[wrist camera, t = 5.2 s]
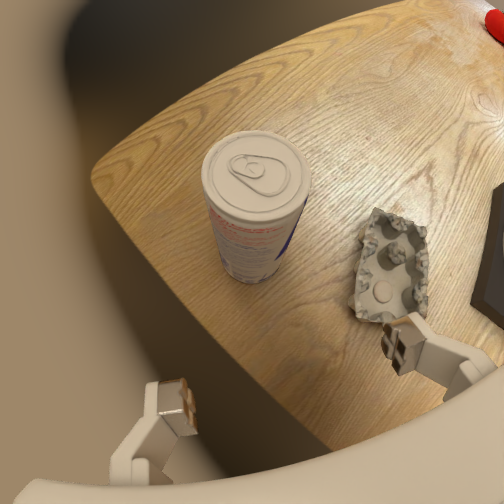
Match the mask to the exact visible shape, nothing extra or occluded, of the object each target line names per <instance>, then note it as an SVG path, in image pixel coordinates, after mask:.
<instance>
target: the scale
mask: <svg viewBox="0 0 504 504" xmlns="http://www.w3.org/2000/svg"><path fill="white" fill-rule="evenodd" d="M470 304H471V305H472V306H474V307H475V308H476V309H478V310H479V311H480V312H482V313H483V314H484V315H486V316H487V317H488V318H489V319H491V320H492V321H493V322H495V323H496V324H497V325H499V326H500V327H501V328H502V329H504V182H503V183H502V184H500V185H499V186H498V187H496V188H495V189H494V190H493V198H492V206H491V213H490V220H489V226H488V232H487V237H486V242H485V247H484V252H483V257H482V261H481V265H480V270H479V274H478V278H477V281H476V285H475V289H474V292H473V296H472V299H471V303H470Z"/></svg>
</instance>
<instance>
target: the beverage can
mask: <svg viewBox="0 0 504 504" xmlns="http://www.w3.org/2000/svg"><path fill="white" fill-rule="evenodd" d="M201 177H202V183H203V192H204V196H205V200H206V204H207V208H208V212H209V215H210V219H211V223H212V227H213V230H214V234H215V238H216V241H217V245H218V249H219V252H220V256H221V259H222V263H223V265H224V268H225V269H226V271H227V272H228V273H229V274H230V275H231V276H232V277H233V278H235V279H236V280H238V281H241V282H244V283H250V284H252V283H260V282H263V281H265V280H267V279H269V278H270V277H271V276H273V275H274V274H275V273H276V271H277V270H278V268H279V266H280V264H281V261H282V259H283V256H284V254H285V252H286V249H287V247H288V245H289V242H290V240H291V238H292V235H293V233H294V230H295V228H296V226H297V223H298V221H299V218H300V216H301V214H302V211H303V209H304V206H305V204H306V202H307V199H308V195H309V191H310V188H311V183H312V172H311V169H310V165H309V163H308V160H307V158H306V157H305V155H304V154H303V153H302V151H301V150H300V149H299V148H298V147H297V146H296V145H295V144H293V143H292V142H291V141H289V140H288V139H286V138H284V137H282V136H280V135H277V134H274V133H271V132H267V131H261V130H248V131H241V132H237V133H234V134H231V135H228V136H226V137H225V138H223V139H222V140H220V141H219V142H217V143H216V144H215V145H214V146H213V147H212V148H211V149H210V150H209V152H208V153H207V155H206V157H205V159H204V162H203V165H202V172H201Z"/></svg>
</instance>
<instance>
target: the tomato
mask: <svg viewBox="0 0 504 504" xmlns="http://www.w3.org/2000/svg"><path fill="white" fill-rule="evenodd" d="M485 25H486V28H487V30H488V31H489V33H490V34H491V35H493V36H494V37H495V38H496V39H497V40H498V41H500V42H501V43H503V44H504V13H502V12H501V11H499V10H498V9H493V10H490V11H489V12H488V13H487V14H486V17H485Z"/></svg>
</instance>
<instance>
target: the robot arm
mask: <svg viewBox="0 0 504 504" xmlns="http://www.w3.org/2000/svg"><path fill="white" fill-rule="evenodd" d="M383 331H384V332H385V334H384V335H383V337H382V340H381V346H382V350H383V353H384V354H385V356H386V358H388V359H390V360H392V367H393V368H394V370H395V371H396V373H397V374H398V376H401V375H403V374H406V373H408V372H411V371H413V370H415V369H416V371H417V372H419V373H421V374H423V375H424V376H426V377H428V378H430V379H432V380H433V381H435V382H437V383H439V384H440V385H442V386H444V387H446V388H448V389H447V391H446V393H445V395H444V397H443V401H444V403H442V404H441V405H439V406H437V407H435V408H433V409H432V410H430V411H428V412H426V413H424V414H422V415H420V416H418V417H416V418H414V419H412V420H410V421H408V422H406V423H404V424H402V425H400V426H397V427H395V428H393V429H391V430H389V431H386V432H384V433H382V434H379V435H377V436H375V437H372V438H370V439H367V440H365V441H362V442H360V443H357V444H354V445H352V446H349V447H346V448H343V449H341V450H338V451H335V452H332V453H329V454H326V455H323V456H320V457H316V458H313V459H310V460H306V461H303V462H299V463H296V464H292V465H288V466H285V467H280V468H276V469H272V470H267V471H263V472H258V473H253V474H248V475H243V476H237V477H232V478H225V479H219V480H211V481H203V482H195V483H184V484H173V481H172V480H171V479H170V478H169V477H167V476H166V475H165V474H164V473H163V472H162V469H163V467H164V466H165V464H166V462H167V460H168V458H169V456H170V454H171V452H172V450H173V448H174V446H175V444H176V442H177V440H178V437H183V436H189V435H195V434H198V423H197V419H196V417H195V416H194V414H195V413H196V403H195V399H194V396H193V393H192V391H191V389H188V388H187V382H186V380H185V378H180V379H172V380H166V381H159V382H151V383H147V385H146V387H145V401H144V417H141V418H140V419H139V420H138V421H137V423H136V424H135V425H134V427H133V428H132V429H131V431H130V432H129V434H128V435H127V436H126V437H125V439H124V440H123V442H122V443H121V445H120V446H119V447H118V448H117V450H116V451H115V452H114V454H113V455H112V456H111V458H110V472H109V485H92V484H80V483H71V482H62V481H55V480H48V479H41V478H37V479H34V480H33V481H31V482H30V483H29V484H28V485H27V486H26V487H25V488H24V489H23V490H22V491H21V493H19V495H18V496H17V497H16V498H15V500H14V502H13V504H504V364H503V365H501V366H500V367H499V368H498V367H497V366H496V365H495V363H494V362H493V361H492V360H491V359H490V358H489V356H488V355H487V354H486V353H485V352H484V351H483V350H482V349H479V348H477V347H474V346H471V345H469V344H466V343H463V342H461V341H458V340H455V339H453V338H450V337H447V336H444V335H442V334H438V335H437V334H436V333H435V332H434V331H433V329H432V328H431V327H430V326H429V325H428V324H427V323H426V321H425V320H424V319H423V318H422V317H421V316H420V315H419V314H418V313H417V312H413V313H410V314H408V315H405V316H402V317H400V318H397V319H395V320H392V321H389V322H387V323H385V325H384V327H383Z"/></svg>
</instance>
